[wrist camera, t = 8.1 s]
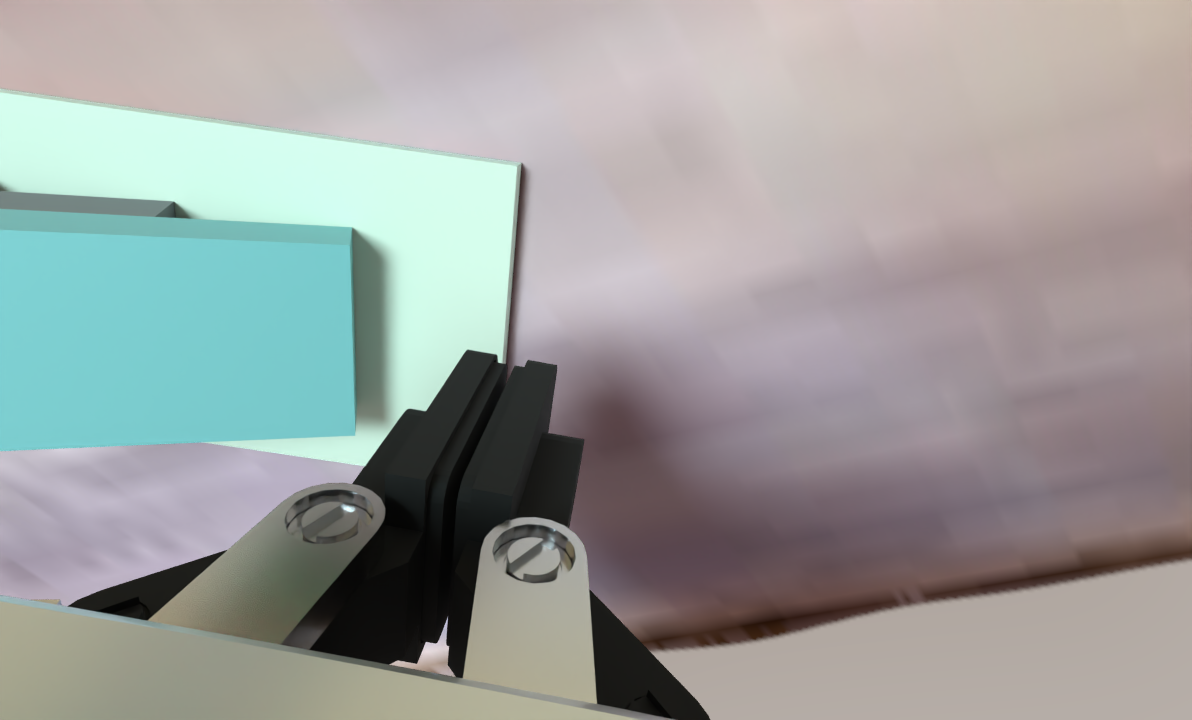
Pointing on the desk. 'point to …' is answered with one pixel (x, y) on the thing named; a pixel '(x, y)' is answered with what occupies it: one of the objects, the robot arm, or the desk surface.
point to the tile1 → (172, 330)
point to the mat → (309, 197)
